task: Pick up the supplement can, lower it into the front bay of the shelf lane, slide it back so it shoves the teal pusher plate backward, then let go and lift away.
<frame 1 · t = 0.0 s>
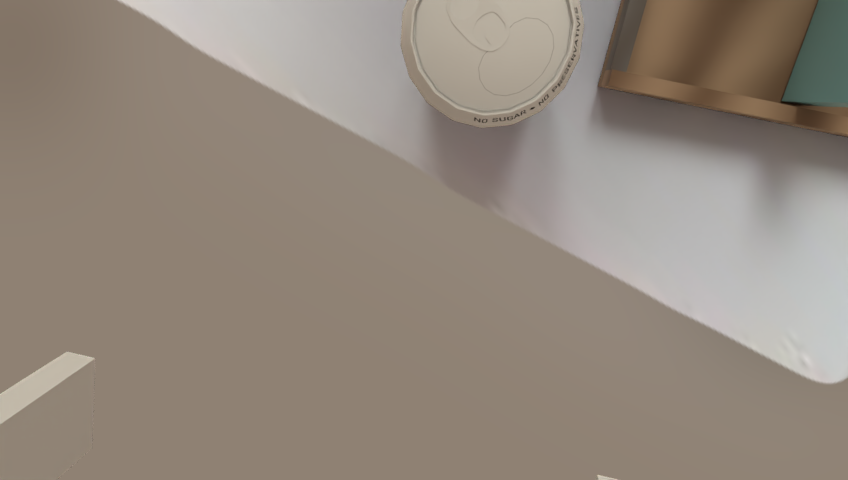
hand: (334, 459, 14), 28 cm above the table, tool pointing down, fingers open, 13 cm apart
supplement can: (485, 55, 38), on the table
lane: (809, 21, 35), on the table
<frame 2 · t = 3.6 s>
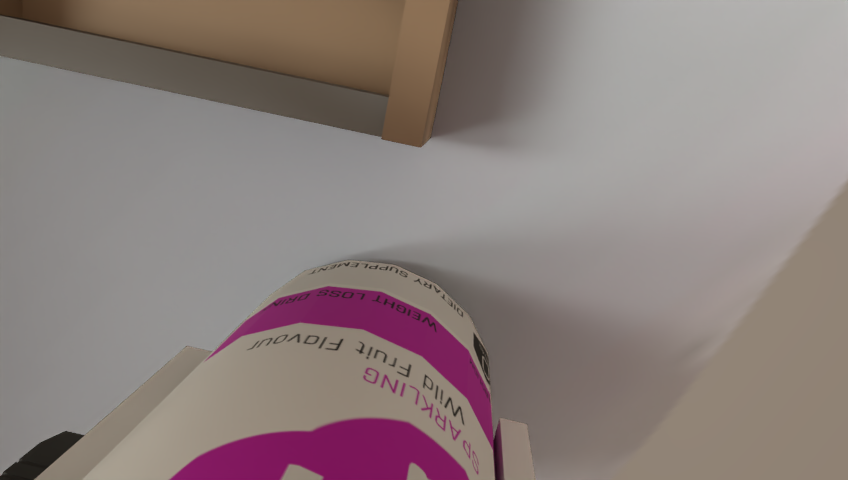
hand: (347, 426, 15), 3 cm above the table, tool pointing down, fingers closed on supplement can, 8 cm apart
supplement can: (370, 366, 19), on the table, touching gripper
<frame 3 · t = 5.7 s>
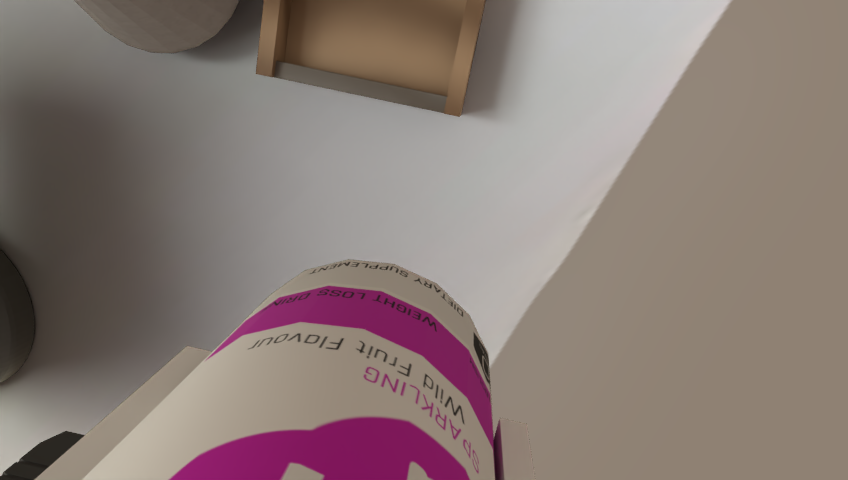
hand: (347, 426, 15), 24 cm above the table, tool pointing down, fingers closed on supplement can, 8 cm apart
supplement can: (370, 365, 19), point 20 cm above the table, touching gripper
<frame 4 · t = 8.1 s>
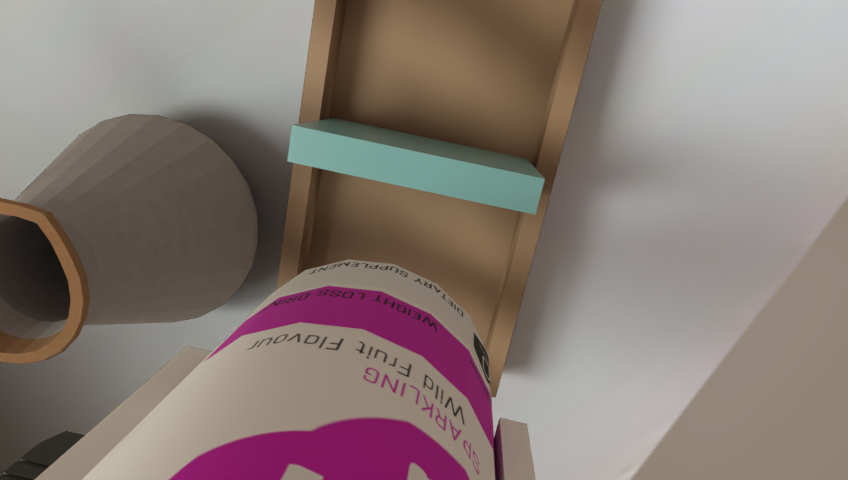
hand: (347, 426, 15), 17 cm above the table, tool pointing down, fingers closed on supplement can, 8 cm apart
coffee pot: (114, 157, 32), on the table
supplement can: (370, 365, 19), point 13 cm above the table, touching gripper
lane: (428, 154, 30), on the table
pusher plate: (421, 160, 25), point 5 cm above the table, slide at 0.0 cm
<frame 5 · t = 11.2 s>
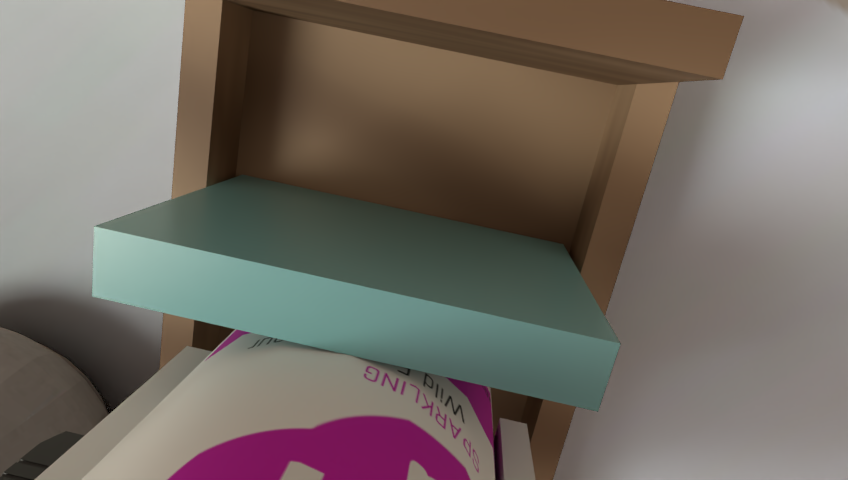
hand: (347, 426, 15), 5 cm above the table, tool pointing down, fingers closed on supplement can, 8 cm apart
supplement can: (370, 365, 19), point 1 cm above the table, touching gripper
lane: (375, 360, 20), on the table
pusher plate: (377, 264, 14), point 5 cm above the table, slide at 5.1 cm
when the fingers open (5 cm above the table, at t = 12.4 s): supplement can stays where it is, resting on lane.
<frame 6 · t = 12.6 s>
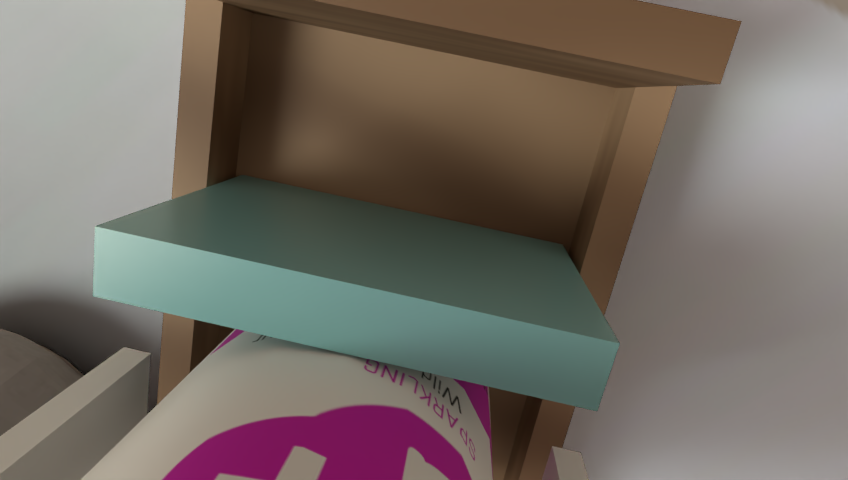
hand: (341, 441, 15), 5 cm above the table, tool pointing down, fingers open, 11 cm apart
supplement can: (371, 360, 19), point 1 cm above the table, touching lane
lane: (374, 361, 20), on the table
pusher plate: (377, 264, 14), point 5 cm above the table, slide at 5.1 cm
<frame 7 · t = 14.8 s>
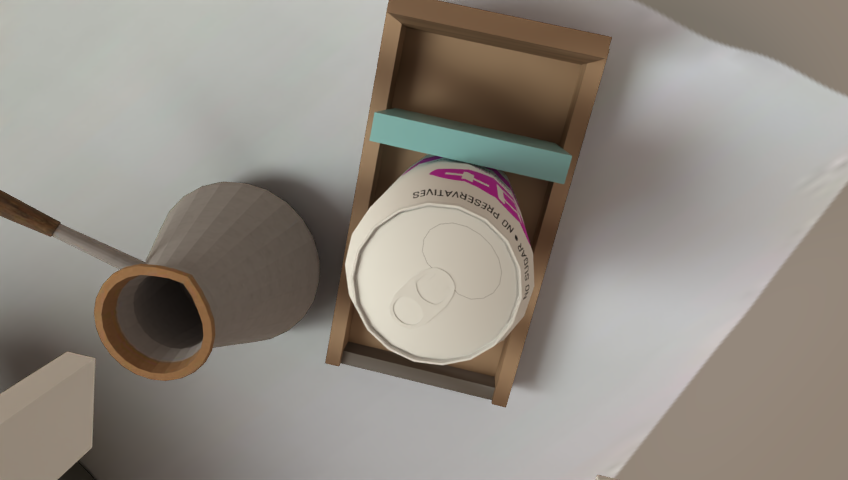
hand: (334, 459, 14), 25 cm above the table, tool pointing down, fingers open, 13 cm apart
coffee pot: (202, 209, 40), on the table
supplement can: (454, 208, 37), point 1 cm above the table, touching lane
lane: (454, 212, 37), on the table
pusher plate: (470, 142, 31), point 5 cm above the table, slide at 5.1 cm
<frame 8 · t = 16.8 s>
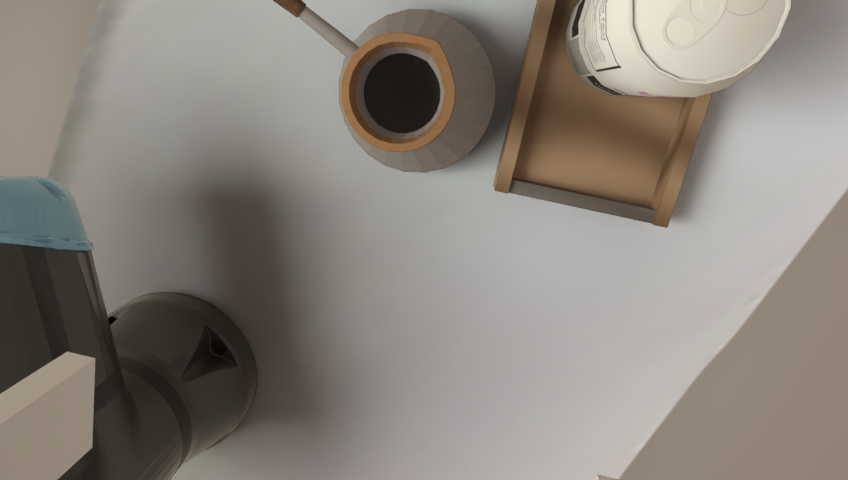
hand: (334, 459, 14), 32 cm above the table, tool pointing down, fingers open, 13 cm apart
coffee pot: (371, 51, 42), on the table
supplement can: (621, 37, 39), point 1 cm above the table, touching lane
lane: (617, 44, 40), on the table
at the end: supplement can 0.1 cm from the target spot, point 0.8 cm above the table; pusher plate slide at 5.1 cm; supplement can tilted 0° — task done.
